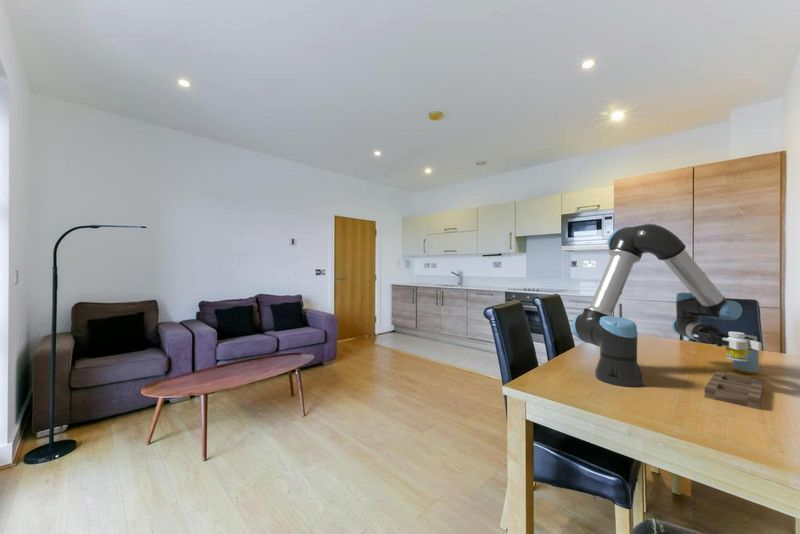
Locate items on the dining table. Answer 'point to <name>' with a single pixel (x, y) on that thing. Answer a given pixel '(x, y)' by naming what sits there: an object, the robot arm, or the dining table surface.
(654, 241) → the robot arm
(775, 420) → the dining table surface
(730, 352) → the supplement bottle
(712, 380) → the slot rack
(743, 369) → the bottle
